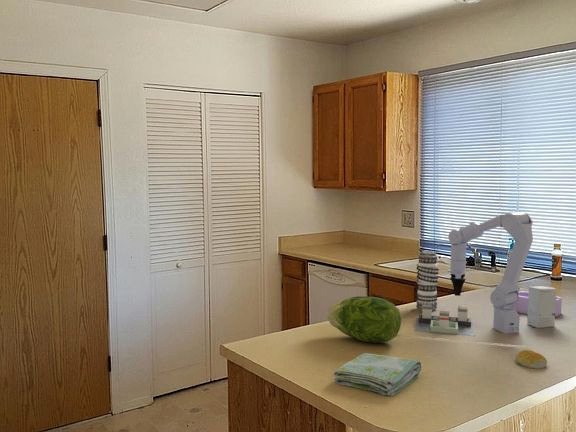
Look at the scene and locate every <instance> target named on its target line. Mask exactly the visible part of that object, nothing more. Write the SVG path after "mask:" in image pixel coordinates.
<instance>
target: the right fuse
mask: <svg viewBox="0 0 576 432" xmlns="http://www.w3.org/2000/svg"><path fill="white" fill-rule="evenodd" d="M457 317H458V321H467V318H468V307H466V306H457Z"/></svg>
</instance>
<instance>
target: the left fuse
mask: <svg viewBox="0 0 576 432" xmlns="http://www.w3.org/2000/svg"><path fill="white" fill-rule="evenodd" d="M421 311H422V314H421V315H422V318H429V319H432V316H433V315H432V313H433V311H432V305H425V304H423V308H422V310H421Z"/></svg>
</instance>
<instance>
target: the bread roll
mask: <svg viewBox="0 0 576 432" xmlns="http://www.w3.org/2000/svg"><path fill="white" fill-rule="evenodd" d="M515 362H516V364H518V365H521V366H523V367H524V368H528V369H543V368H545V367H546V366H547V364H548V360H547V358H546V357H545V356H544V355H542V354H541V353H538V352H536V351H533V350H530V349H523V350H520V351H518V352H517V353H516V355H515Z"/></svg>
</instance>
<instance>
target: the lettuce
mask: <svg viewBox="0 0 576 432" xmlns="http://www.w3.org/2000/svg"><path fill="white" fill-rule="evenodd" d="M326 319H327V321H328V322H329V323H330V325H331V326H332V327H333V328H336V329H337V330H338V331H340V332H341V333H343V334H344V335H346V336H347V337H350V338H353V339H354V340H355V339H356V340H358V341H361V342H364V343H371V344H372V343H389V342H390V341H391V340H393V339H395V338H396V337H397V335H398V334H399V331H400V329H401V326H402V316H401V311H400V308H398V307H397V306H396V305H395V304H394V303H393V302H391V301H390V300H388V299H385V298H381V297H376V296H375V297H374V296H365V295H364V296H363V295H362V296H360V295H358V296H351V297H348V298H345V299H344V300H342V301H339V302H337V303H334V304H333V305H331V306H330V307H329V308H328V309H327V312H326Z"/></svg>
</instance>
